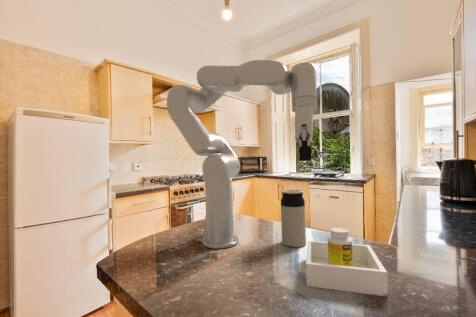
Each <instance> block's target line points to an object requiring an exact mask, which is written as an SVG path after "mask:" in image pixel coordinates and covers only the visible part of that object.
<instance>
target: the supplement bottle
mask: <svg viewBox="0 0 476 317" xmlns="http://www.w3.org/2000/svg"><path fill="white" fill-rule="evenodd" d="M327 242H328V264H331V265H341V266H350V267H353V262H352V244H353V240H352V239H351V238H350V237H349V230H348V229H345V228H341V227H334V228H333V227H332V228H331V229H330V235H329V236H328V237H327Z"/></svg>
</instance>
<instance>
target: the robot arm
mask: <svg viewBox="0 0 476 317" xmlns="http://www.w3.org/2000/svg"><path fill="white" fill-rule="evenodd" d="M316 70H317V69H316V66H315V64H314V63H312V62H309V61H308V62H306V61H305V62H299V63H296V64H294V65H293V66H292V67H291V69H290V70H288V69H287V67H286V66H285V64H283V63H282V62H280V61H278V60H273V59H272V60H271V59H257V60H249V61H247V62H244V63H241V64H239V65H203V66H202V67H200V68H199V69H198V70H197V73H196V81H197V83H198V85H199V86H200V87H201V88H200V89H199V90H197V89H195V88H192V87H191V86H188V85H184V84H176V85H174V86H172V87H171V88H170V89H169V91H168V93H167V96H166V109H167V112H168V115H169V117H170V119H171V120H172V122H173V123H174V125H175V126H176V127H177V129H178V130H179V132H180V133H181V135H182V137H183V138H184V140H185V141H186V143H187V144H188V146H189V147H190V149H191V150H192V151H193V153H194V154H195V155H197V156H200V157H201V156H202V157H206V158H205V159H204V160H203V162H202V170H201V171H202V177H203V181H204V187H205V188H204V189H205V216H206V217H205V218H206V221H205V222H206V225H205V226H206V229H204V228H198V229H197V232H196V234H197V237H203V238H202V245H203V246H204V247H206V248H210V249H226V248H231V247H234V246H236V245H237V244H238V243H239V237H238V236H237V235H235V234H234V233H235V232H234V203H233V202H234V201H233V186H232V181H231V178H235V177H236V176H237V175H238V174H239V172H240V170H241V162H240V160H239V158H238V156H237V155H236V153H235V152H234V150H233V149H232V147H230V145H229V144H228V142H227V141H226V139H225V137H223V136H221V134H219V133H218V132H213V131H211V130H208V129H207V127H206V126H205V125H204V124H203V122H202V121H201V119H200V118H199V116H197V115H196V114H200V113H203V112H205V111H207V109H209V108H210V107H212V105H214V104H215V103H217V101H218V100H220V99H221V98H222V97H223V96H224V95H225V94H226V93H227V92H230V93H231V92H233V93H238V92H242V90H243V88H244V87H247V86H265V87H267V88H269V90H270V91H271V92H272V93H273V94H275V95H277V96H278V95H279V96H281V95H282V96H283V95H286V94H289V93H290V94H291V111H292V112H294V141H295V142H297V143H299V146H298V156H299V157H298V160H299V161H301V162H303V161H305V162H306V161H307V162H309V161H312V148H311V142H313V136H314V135H313V134H314V111H316V110H317V109H318V94H317V93H318V91H317V71H316Z"/></svg>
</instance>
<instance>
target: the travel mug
mask: <svg viewBox="0 0 476 317" xmlns="http://www.w3.org/2000/svg"><path fill="white" fill-rule="evenodd" d="M280 192H281V195H282V197H281V199H280V218H281V242H282V244H283V245H284V246H286V247H289V248H290V247H292V248H300V247H303V246H305V245H306V244H307V236H306V234H307V232H306V230H307V229H306V205H305V204H306V201H305V199H304V197H303V194H304V190H303V189H282V190H281V191H280Z"/></svg>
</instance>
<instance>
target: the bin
mask: <svg viewBox="0 0 476 317" xmlns="http://www.w3.org/2000/svg"><path fill="white" fill-rule="evenodd" d="M306 244H307V245H306V246H307V247H306V258H305V259H306V260H305V274H306V275H305V277H306V278H305V279H306V280H305V281H306V287H311V288H319V289H326V290H332V289H334V291H340V292H348V293H357V294H363V295H369V296H379V297H385V298H386V297H389V289H388V288H389V286H388V272H387V269H386V268H385V267H384V265H383V264H382V262H381V260H380V258H379V257H378V255H377V254H376V252H375V251H374V250H373V248H372V246H371V245H370V244H360V243H352V262H353V267H350V266H341V265H331V264H328V241H320V240H318V241H317V240H307V243H306Z"/></svg>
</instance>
